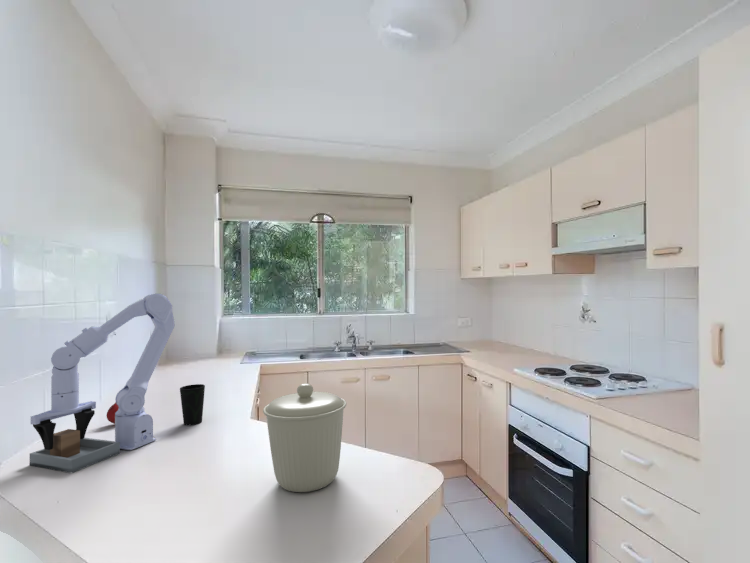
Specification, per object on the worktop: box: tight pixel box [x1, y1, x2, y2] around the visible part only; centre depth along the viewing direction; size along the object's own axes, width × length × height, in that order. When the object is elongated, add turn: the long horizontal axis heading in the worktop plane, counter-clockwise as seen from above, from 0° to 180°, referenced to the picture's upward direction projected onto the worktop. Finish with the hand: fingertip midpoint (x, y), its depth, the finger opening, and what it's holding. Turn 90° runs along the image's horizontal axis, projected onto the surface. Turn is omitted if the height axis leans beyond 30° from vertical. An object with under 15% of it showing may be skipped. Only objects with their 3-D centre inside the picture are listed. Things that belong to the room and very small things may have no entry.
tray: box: [29, 437, 121, 474], centre depth 99 cm, size 16×12×3 cm
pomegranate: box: [105, 401, 119, 425], centre depth 128 cm, size 6×6×8 cm
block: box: [50, 428, 80, 458], centre depth 100 cm, size 4×4×6 cm
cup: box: [179, 383, 206, 426], centre depth 127 cm, size 8×8×12 cm
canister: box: [262, 383, 347, 493], centre depth 83 cm, size 18×18×21 cm
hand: (65, 443), depth 100 cm, fingers open, 7 cm apart
